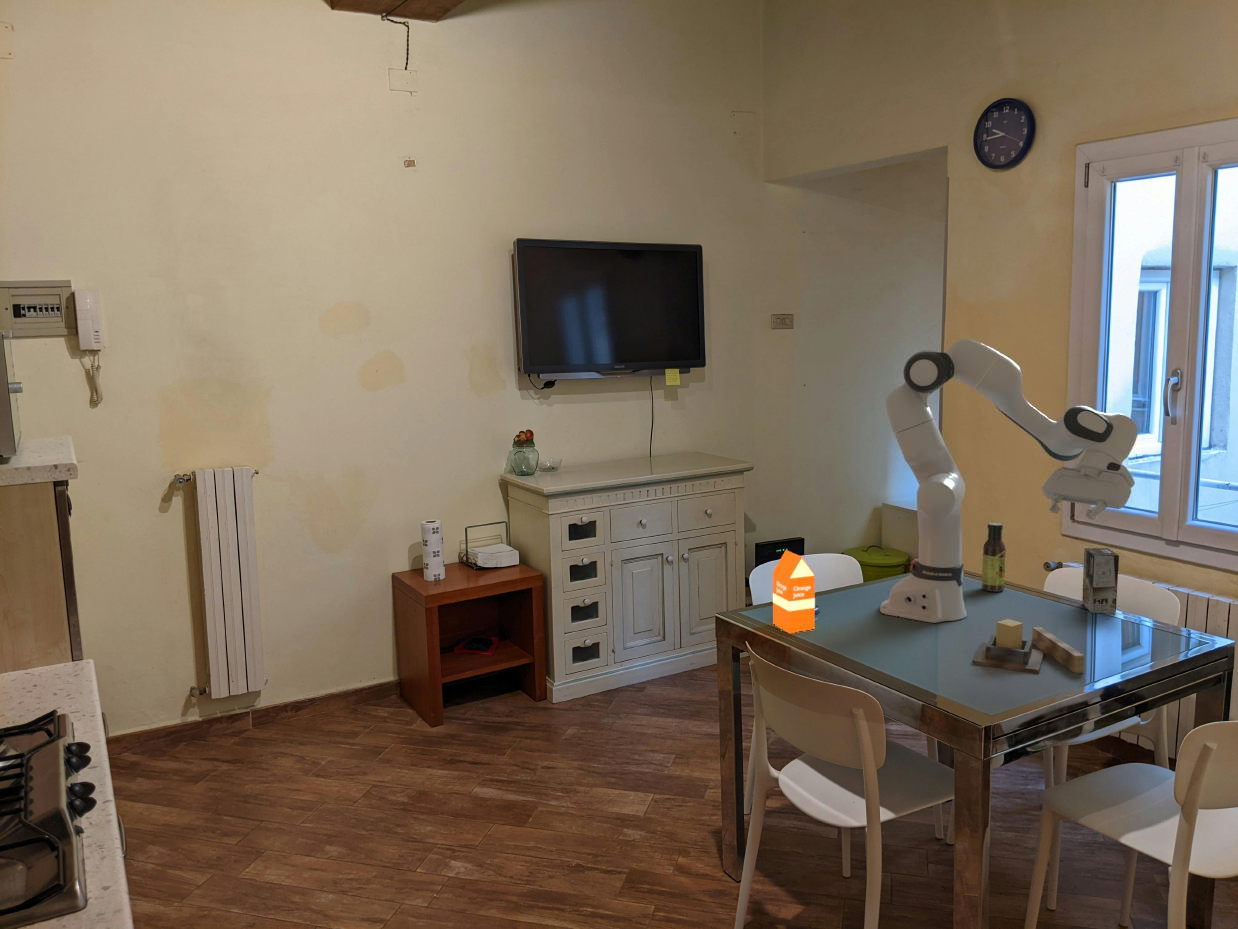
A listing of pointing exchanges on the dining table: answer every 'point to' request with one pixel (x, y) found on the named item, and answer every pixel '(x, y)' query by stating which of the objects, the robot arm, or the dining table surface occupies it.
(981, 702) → the dining table surface
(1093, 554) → the coffee box
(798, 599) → the orange juice
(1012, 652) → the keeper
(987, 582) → the sauce bottle
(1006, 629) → the stop block
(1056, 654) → the strip
